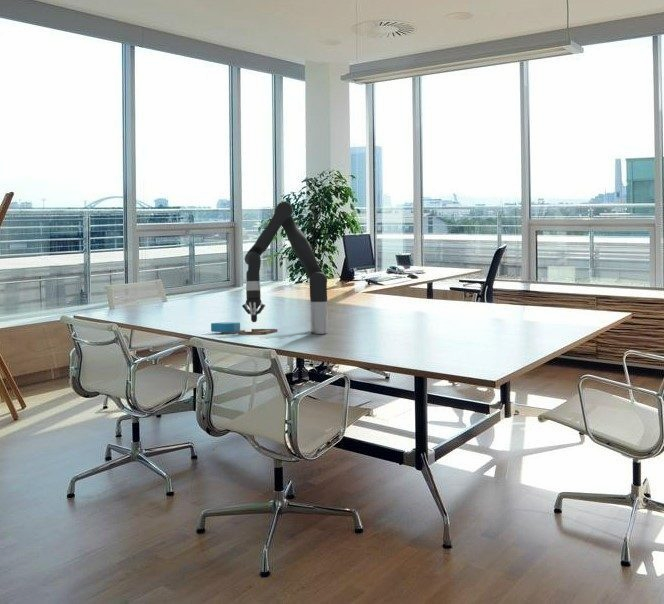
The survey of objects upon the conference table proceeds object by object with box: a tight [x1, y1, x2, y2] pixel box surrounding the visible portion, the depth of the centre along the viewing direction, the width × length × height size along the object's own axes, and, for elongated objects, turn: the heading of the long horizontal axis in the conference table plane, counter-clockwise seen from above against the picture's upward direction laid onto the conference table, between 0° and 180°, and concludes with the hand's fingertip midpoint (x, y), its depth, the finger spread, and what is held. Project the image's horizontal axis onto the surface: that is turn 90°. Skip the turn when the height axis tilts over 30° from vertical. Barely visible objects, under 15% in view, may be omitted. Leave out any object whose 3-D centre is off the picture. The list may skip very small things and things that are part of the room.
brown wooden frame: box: [238, 328, 278, 336], centre depth 392 cm, size 15×20×2 cm
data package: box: [210, 321, 241, 333], centre depth 395 cm, size 12×4×12 cm
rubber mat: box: [220, 329, 246, 335], centre depth 396 cm, size 8×14×1 cm, turn 165°
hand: (254, 322), depth 392 cm, fingers closed
